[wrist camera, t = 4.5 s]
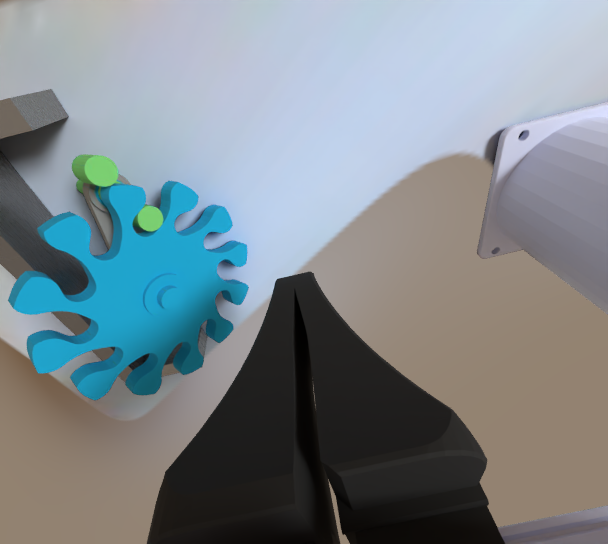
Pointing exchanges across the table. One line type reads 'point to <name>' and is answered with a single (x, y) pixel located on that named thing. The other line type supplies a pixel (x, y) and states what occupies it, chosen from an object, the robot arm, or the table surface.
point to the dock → (32, 213)
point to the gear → (132, 282)
